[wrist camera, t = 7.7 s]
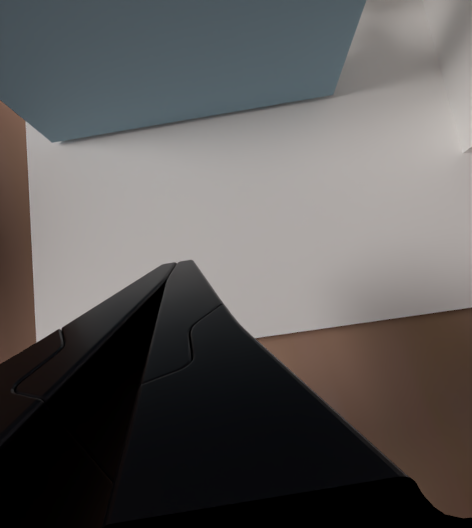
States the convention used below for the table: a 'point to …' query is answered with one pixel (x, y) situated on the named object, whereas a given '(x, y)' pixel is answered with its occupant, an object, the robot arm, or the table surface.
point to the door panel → (165, 59)
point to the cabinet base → (282, 192)
